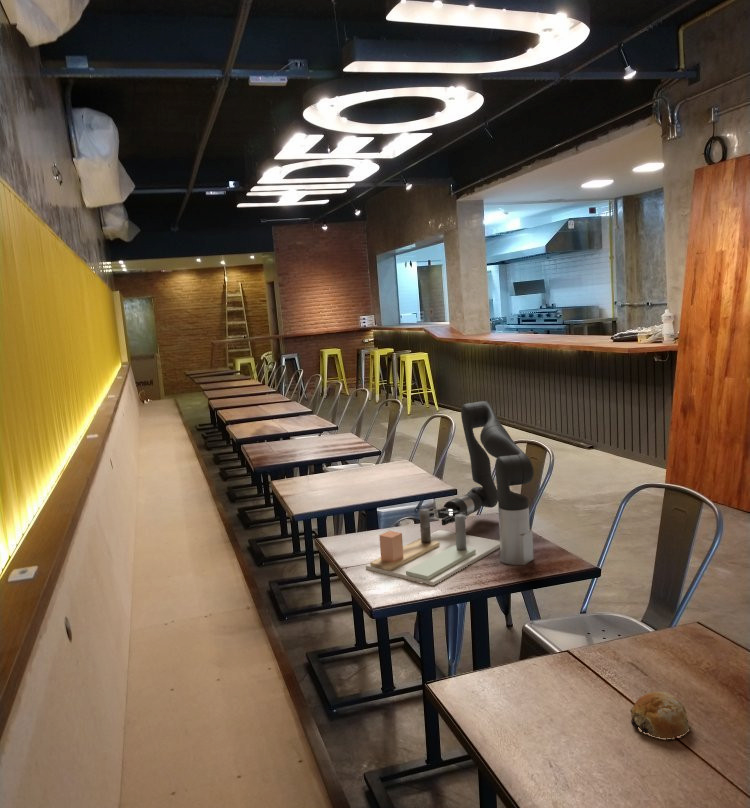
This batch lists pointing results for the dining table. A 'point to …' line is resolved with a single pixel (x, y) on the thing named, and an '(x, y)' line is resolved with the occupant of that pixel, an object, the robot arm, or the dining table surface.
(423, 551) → the oak strip
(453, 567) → the lane board
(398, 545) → the terracotta block
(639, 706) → the bread roll
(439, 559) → the sage strip
